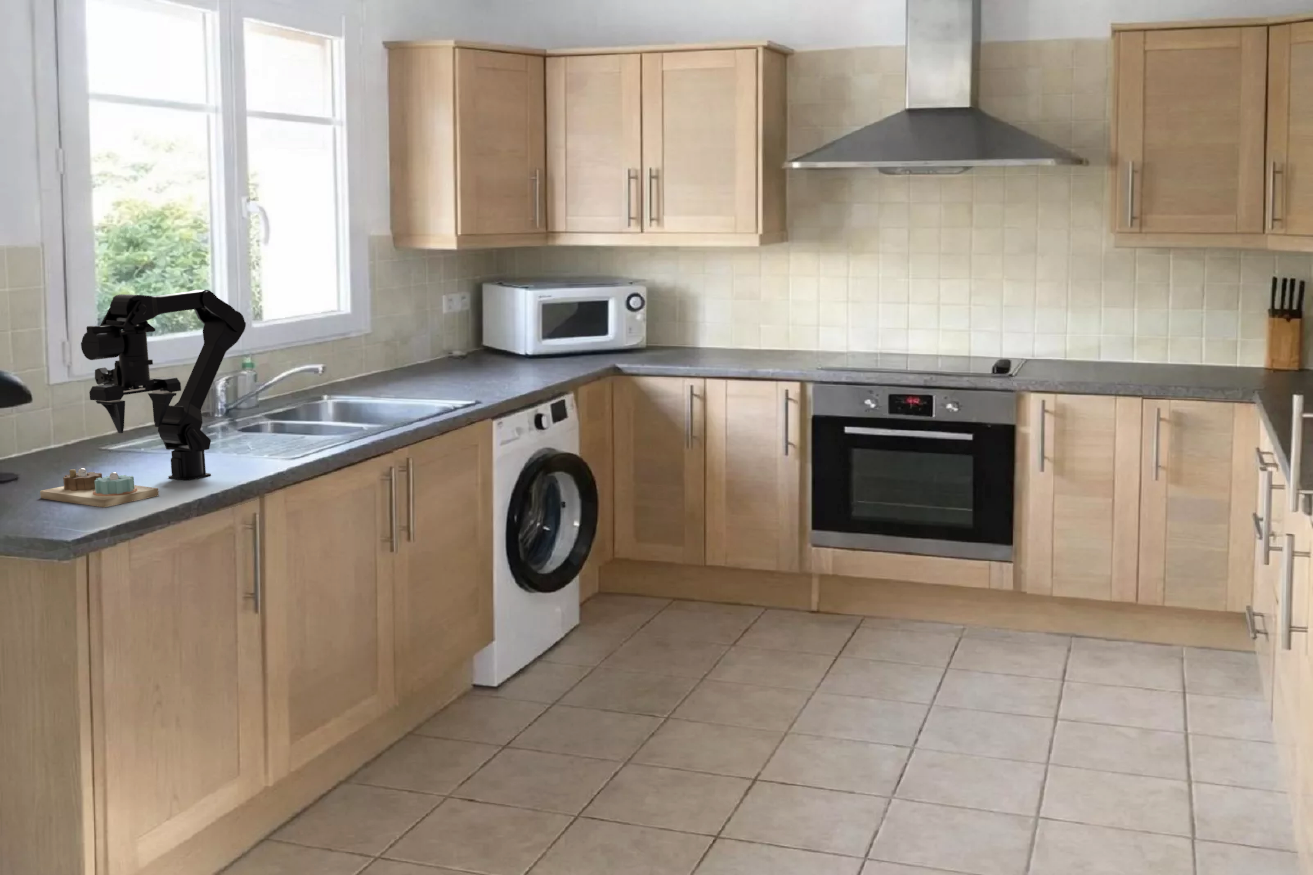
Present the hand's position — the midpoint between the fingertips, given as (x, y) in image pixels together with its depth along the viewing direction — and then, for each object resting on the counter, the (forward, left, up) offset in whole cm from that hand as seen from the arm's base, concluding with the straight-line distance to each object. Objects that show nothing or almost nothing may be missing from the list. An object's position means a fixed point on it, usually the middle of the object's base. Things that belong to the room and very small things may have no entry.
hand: (139, 429), depth 299 cm
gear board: (+11, +1, -12) cm, 17 cm away
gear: (+11, -4, -10) cm, 16 cm away
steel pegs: (+12, +1, -10) cm, 16 cm away
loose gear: (+11, +6, -10) cm, 17 cm away
